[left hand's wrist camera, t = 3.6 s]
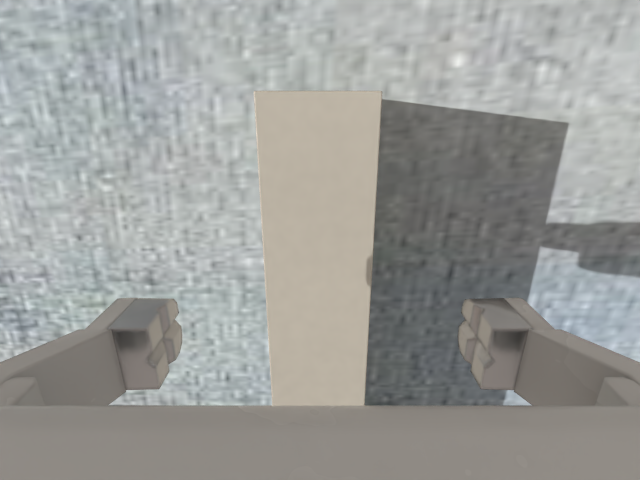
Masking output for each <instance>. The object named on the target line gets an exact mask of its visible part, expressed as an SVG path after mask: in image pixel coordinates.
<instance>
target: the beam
mask: <svg viewBox="0 0 640 480" xmlns="http://www.w3.org/2000/svg"><path fill="white" fill-rule="evenodd" d="M254 104H255V120H256V137H257V154H258V171H259V188H260V205H261V222H262V238H263V255H264V272H265V289H266V306H267V323H268V339H269V356H270V373H271V390H272V406H365V388H366V370H367V353H368V335H369V318H370V300H371V283H372V265H373V247H374V230H375V212H376V195H377V177H378V160H379V142H380V124H381V107H382V91H254Z"/></svg>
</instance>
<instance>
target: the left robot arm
mask: <svg viewBox="0 0 640 480" xmlns="http://www.w3.org/2000/svg"><path fill="white" fill-rule="evenodd" d="M178 313H179V310H178V305H177V302H176V301H175V300H174V299H160V298H119V299H117V300H115V301H114V302H113V303H112V304H111V305H110V306H109V307H108V308H107V309H106V310H105V311H104V312H103V313H102V314H101V315H100V316H99V317H97V318H96V319H95V320H94V321H93V322H92V323H91V324H90V325H89V326H88V327H87V328H86V329H85V330H77V331H74V332H72V333H69V334H67V335H65V336H62V337H60V338H58V339H55V340H53V341H50V342H48V343H46V344H43V345H41V346H38V347H36V348H34V349H31V350H29V351H26V352H24V353H22V354H19V355H17V356H14V357H12V358H10V359H7V360H5V361H3V362H0V480H640V362H637V361H635V360H632V359H630V358H628V357H625V356H623V355H621V354H618V353H616V352H613V351H611V350H609V349H606V348H604V347H601V346H599V345H597V344H594V343H592V342H590V341H587V340H585V339H582V338H580V337H578V336H575V335H573V334H570V333H568V332H566V331H563V330H555V329H554V328H553V327H552V326H551V325H550V324H549V323H548V322H547V321H546V320H545V319H544V318H543V317H542V316H540V315H539V314H538V313H537V312H536V311H535V310H534V309H533V308H532V307H531V306H530V305H529V304H528V303H527V302H526V301H525V300H524V299H521V298H488V299H465V300H464V302H463V305H462V310H461V313H462V315H463V316H464V318H465V320H464V322H463V323H462V324H461V325H460V326H459V330H458V346H459V349H460V353H461V355H462V357H463V359H464V360H465V361H467V362H469V363H470V364H472V365H471V373H472V374H473V376H474V378H475V380H476V381H477V383H478V385H479V387H480V388H481V389H495V390H514V392H515V393H517V394H518V395H519V396H521V397H522V398H523V399H525V400H526V401H527V402H529V403H530V404H531V405H532V406H121V405H109V404H110V403H112V402H113V401H114V400H116V399H117V398H118V397H119V396H121V395H122V394H123V393H125V392H126V390H144V389H159V388H160V387H161V385H162V383H163V381H164V380H165V378H166V376H167V374H168V373H169V365H168V364H170V363H171V362H173V361H175V360H176V359H177V357H178V355H179V353H180V349H181V345H182V329H181V326H180V325H179V324H178V323H177V322H176V320H175V318H176V316H177V315H178Z"/></svg>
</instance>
